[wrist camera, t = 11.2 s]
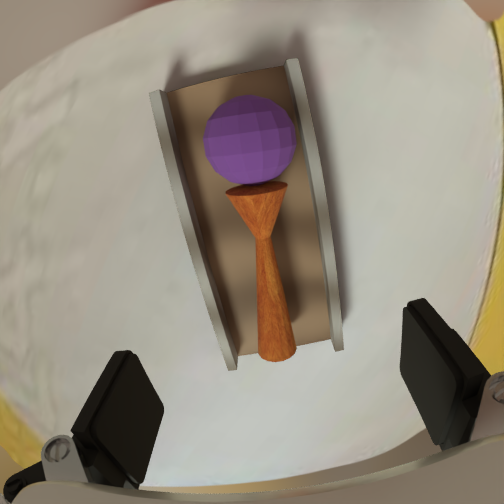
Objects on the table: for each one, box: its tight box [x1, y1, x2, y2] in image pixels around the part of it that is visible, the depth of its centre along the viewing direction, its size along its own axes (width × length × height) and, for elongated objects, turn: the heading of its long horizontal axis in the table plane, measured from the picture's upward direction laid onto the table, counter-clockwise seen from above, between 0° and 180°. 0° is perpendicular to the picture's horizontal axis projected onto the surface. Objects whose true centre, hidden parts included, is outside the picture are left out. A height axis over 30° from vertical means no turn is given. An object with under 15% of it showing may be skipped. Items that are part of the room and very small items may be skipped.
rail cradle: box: [149, 58, 344, 371], centre depth 24 cm, size 24×11×3 cm, turn 12°
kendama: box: [203, 95, 297, 362], centre depth 23 cm, size 6×6×20 cm
